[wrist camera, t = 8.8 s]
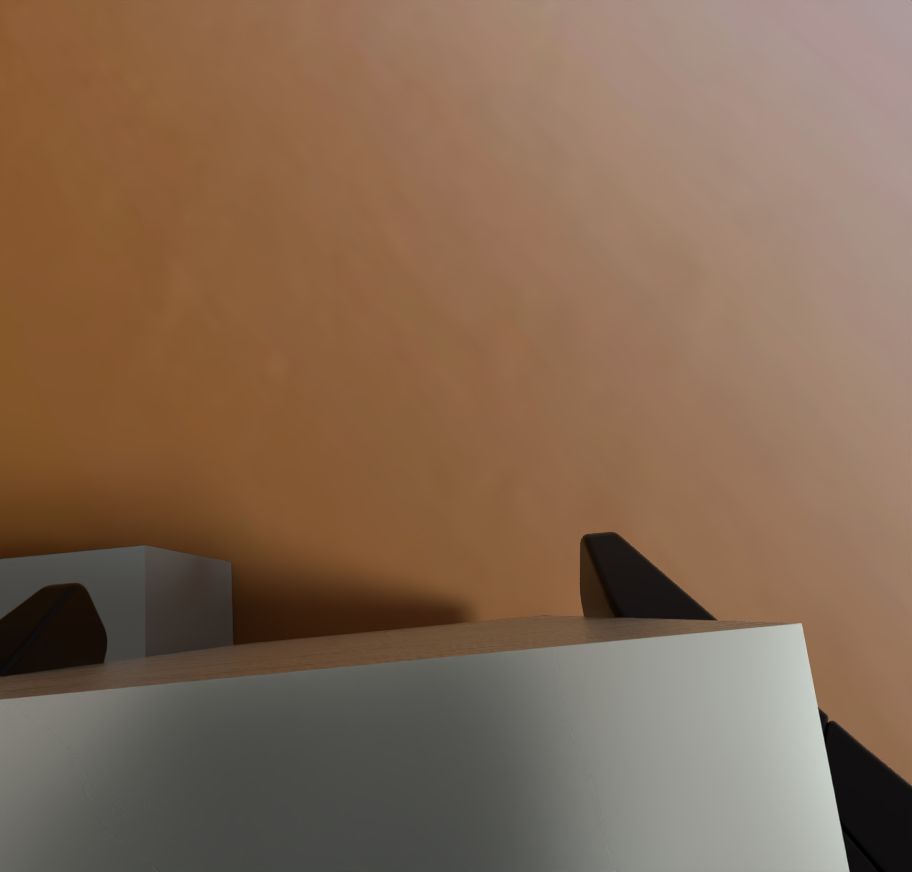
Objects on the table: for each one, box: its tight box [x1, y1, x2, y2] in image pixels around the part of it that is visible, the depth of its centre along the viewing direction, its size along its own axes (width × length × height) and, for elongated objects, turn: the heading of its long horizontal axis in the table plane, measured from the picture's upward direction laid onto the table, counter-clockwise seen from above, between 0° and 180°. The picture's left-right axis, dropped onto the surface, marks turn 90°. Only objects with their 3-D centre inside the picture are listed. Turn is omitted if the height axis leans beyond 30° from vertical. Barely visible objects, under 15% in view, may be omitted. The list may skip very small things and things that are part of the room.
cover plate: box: [0, 615, 849, 872], centre depth 9 cm, size 1×6×12 cm, turn 95°
